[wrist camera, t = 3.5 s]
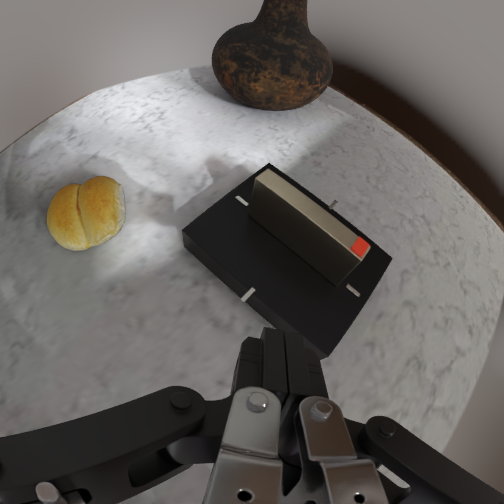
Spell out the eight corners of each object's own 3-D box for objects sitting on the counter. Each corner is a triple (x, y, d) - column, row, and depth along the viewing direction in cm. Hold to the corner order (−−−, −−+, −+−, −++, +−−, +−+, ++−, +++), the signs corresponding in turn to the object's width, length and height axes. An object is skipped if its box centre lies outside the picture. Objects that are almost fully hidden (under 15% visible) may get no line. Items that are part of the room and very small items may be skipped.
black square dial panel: (175, 254, 27) (171, 236, 24) (270, 176, 33) (275, 157, 30) (308, 371, 23) (321, 367, 20) (382, 264, 29) (397, 250, 27)
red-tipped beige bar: (247, 215, 26) (255, 175, 22) (259, 205, 27) (268, 165, 22) (336, 287, 24) (363, 259, 19) (345, 274, 25) (372, 245, 20)
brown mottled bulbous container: (304, 76, 47) (340, -52, 23) (334, 132, 39) (400, -38, 15) (208, 70, 44) (222, -71, 20) (211, 127, 36) (231, -81, 11)
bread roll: (56, 200, 28) (43, 177, 24) (125, 182, 30) (117, 157, 27) (51, 262, 24) (33, 243, 21) (129, 244, 27) (118, 221, 23)
